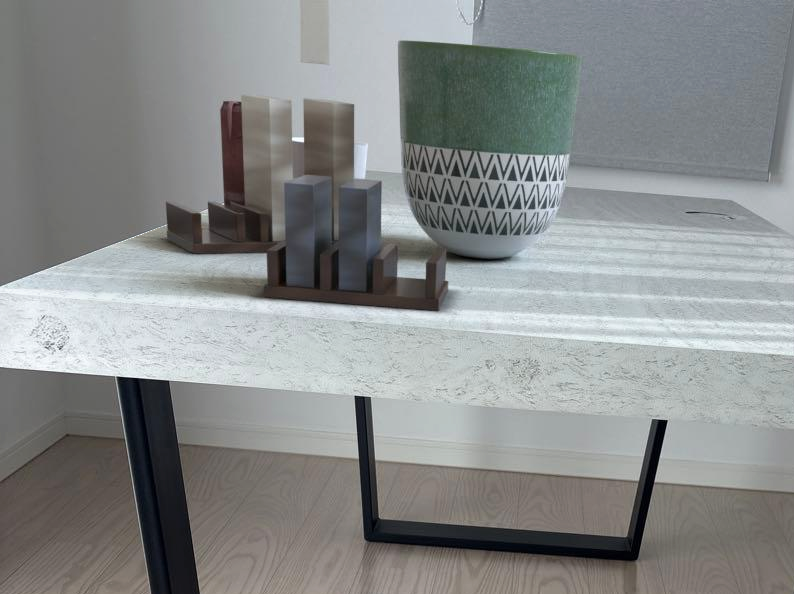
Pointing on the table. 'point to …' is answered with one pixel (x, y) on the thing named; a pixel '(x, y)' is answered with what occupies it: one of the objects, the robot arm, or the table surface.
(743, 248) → the table surface
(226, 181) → the dark red upright block
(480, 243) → the planter
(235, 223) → the brown book rack
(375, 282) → the desk organizer with blocks
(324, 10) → the white book
